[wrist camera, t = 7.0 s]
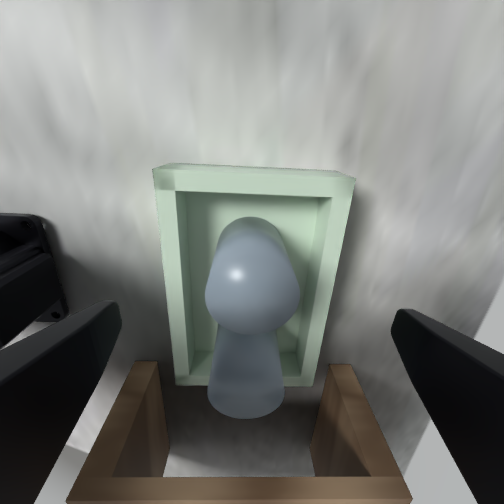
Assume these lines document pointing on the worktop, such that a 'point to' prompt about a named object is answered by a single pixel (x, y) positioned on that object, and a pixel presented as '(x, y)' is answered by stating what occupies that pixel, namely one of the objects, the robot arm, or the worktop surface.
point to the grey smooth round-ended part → (245, 374)
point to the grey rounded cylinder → (251, 279)
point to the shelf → (239, 488)
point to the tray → (205, 242)
